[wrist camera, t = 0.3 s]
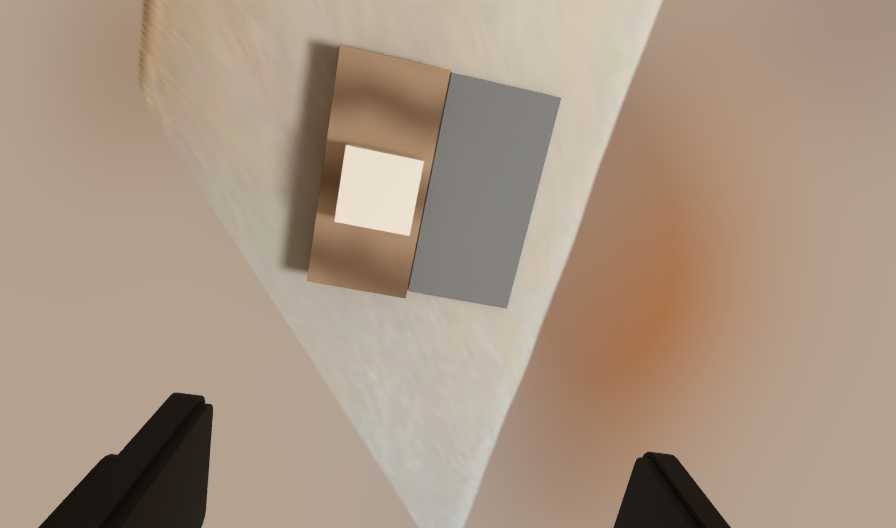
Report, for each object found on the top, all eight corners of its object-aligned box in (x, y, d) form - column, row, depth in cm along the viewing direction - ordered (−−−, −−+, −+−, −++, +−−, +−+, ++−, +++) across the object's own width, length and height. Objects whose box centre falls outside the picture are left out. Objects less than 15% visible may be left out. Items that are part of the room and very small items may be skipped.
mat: (451, 73, 41) (451, 72, 41) (559, 98, 42) (561, 98, 42) (408, 289, 46) (408, 290, 46) (505, 306, 47) (506, 308, 47)
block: (349, 143, 40) (345, 144, 38) (423, 159, 41) (424, 161, 39) (337, 216, 41) (334, 221, 40) (409, 230, 42) (409, 236, 40)
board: (344, 48, 40) (340, 44, 38) (448, 72, 41) (450, 70, 39) (312, 272, 45) (306, 281, 43) (406, 288, 46) (405, 298, 44)
